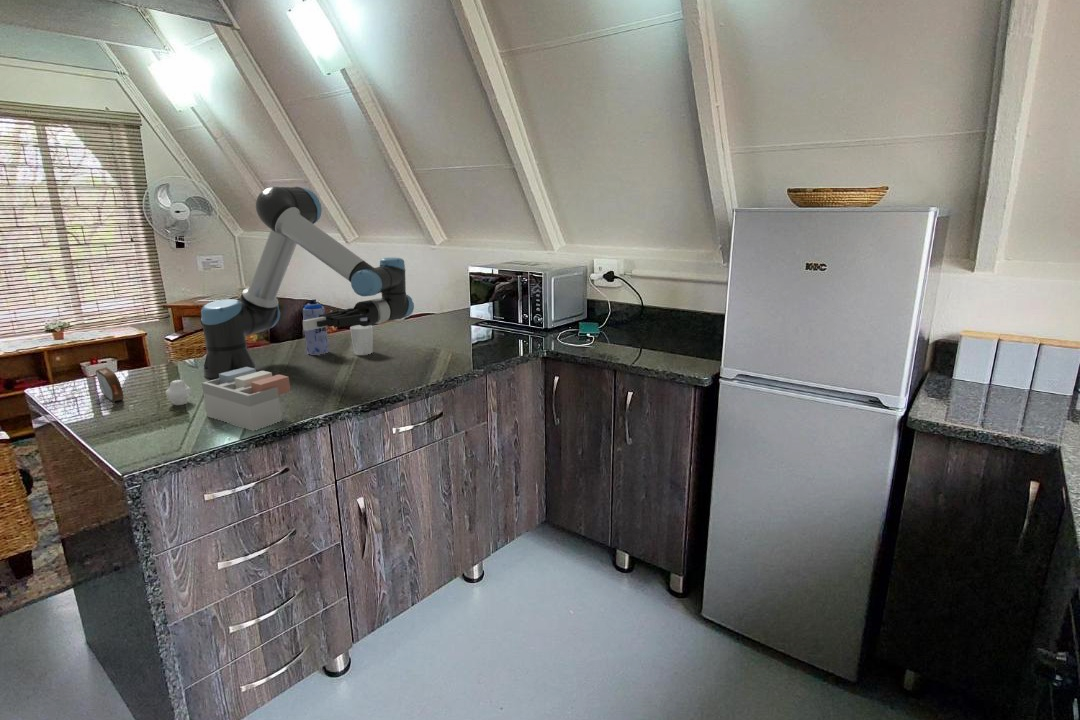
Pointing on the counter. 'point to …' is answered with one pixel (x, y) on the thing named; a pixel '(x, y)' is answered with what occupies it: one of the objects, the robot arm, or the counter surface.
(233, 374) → the blue-grey rectangular block
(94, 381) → the counter surface
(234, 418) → the grey slotted rack
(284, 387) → the terracotta key
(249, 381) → the ivory key
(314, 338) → the aerosol can
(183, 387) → the muffin
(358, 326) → the white cup
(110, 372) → the tin
